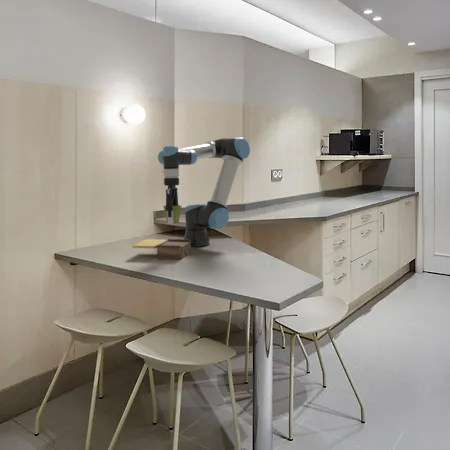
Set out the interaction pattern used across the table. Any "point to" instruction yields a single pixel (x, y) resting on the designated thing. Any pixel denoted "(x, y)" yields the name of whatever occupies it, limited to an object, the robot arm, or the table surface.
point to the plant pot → (174, 213)
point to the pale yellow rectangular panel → (149, 243)
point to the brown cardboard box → (174, 249)
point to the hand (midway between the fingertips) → (172, 222)
